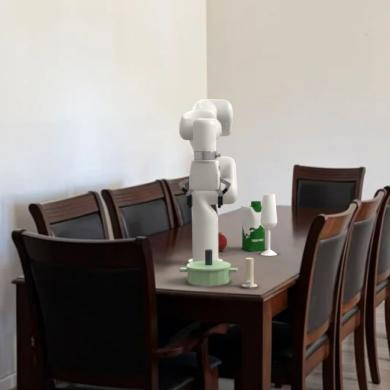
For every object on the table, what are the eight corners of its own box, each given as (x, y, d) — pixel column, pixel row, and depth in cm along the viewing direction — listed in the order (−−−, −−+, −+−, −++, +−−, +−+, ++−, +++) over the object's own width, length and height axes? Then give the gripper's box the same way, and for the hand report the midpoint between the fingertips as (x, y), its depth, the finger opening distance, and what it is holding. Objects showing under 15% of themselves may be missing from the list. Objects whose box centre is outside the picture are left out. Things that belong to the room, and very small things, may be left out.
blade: (243, 284, 257) (243, 255, 256) (258, 284, 257) (258, 256, 256) (240, 290, 249) (240, 260, 248) (256, 290, 249) (256, 261, 248)
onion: (226, 252, 313) (226, 232, 312) (212, 252, 312) (212, 232, 311) (227, 250, 318) (227, 230, 318) (213, 250, 318) (213, 230, 317)
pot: (184, 278, 265) (183, 262, 265) (239, 278, 265) (239, 262, 265) (176, 287, 252) (176, 270, 251) (234, 287, 252) (234, 270, 252)
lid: (190, 263, 265) (190, 245, 264) (233, 264, 265) (233, 246, 265) (182, 272, 251) (182, 253, 250) (227, 273, 251) (227, 254, 250)
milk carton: (248, 252, 314) (248, 202, 312) (238, 248, 322) (238, 200, 320) (268, 250, 319) (268, 201, 317) (257, 246, 327) (257, 199, 324)
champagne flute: (258, 253, 312) (258, 193, 310) (274, 252, 315) (274, 192, 312) (262, 256, 306) (262, 195, 304) (279, 255, 309) (279, 194, 306)
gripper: (232, 156, 264) (232, 206, 266) (180, 155, 264) (181, 206, 266) (229, 157, 256) (229, 209, 258) (176, 156, 256) (177, 208, 258)
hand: (205, 207), depth 262 cm, fingers open, 9 cm apart
